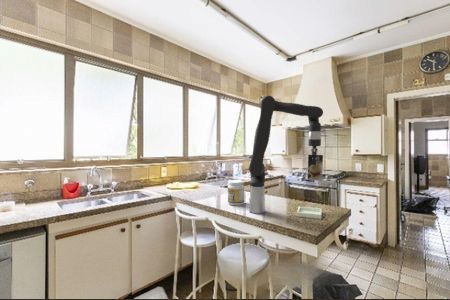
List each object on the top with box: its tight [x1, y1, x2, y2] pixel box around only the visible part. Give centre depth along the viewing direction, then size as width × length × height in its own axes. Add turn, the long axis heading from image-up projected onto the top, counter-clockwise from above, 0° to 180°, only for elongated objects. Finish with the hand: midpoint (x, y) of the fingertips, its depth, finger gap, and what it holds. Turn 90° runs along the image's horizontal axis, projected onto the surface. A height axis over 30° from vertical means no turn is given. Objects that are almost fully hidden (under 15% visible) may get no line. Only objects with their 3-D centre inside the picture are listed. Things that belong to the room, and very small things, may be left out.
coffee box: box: [305, 154, 324, 181], centre depth 153 cm, size 9×6×16 cm
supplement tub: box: [227, 179, 245, 206], centre depth 176 cm, size 12×12×17 cm
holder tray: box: [296, 206, 323, 220], centre depth 148 cm, size 14×14×3 cm
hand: (314, 164), depth 153 cm, fingers closed on coffee box, 7 cm apart
